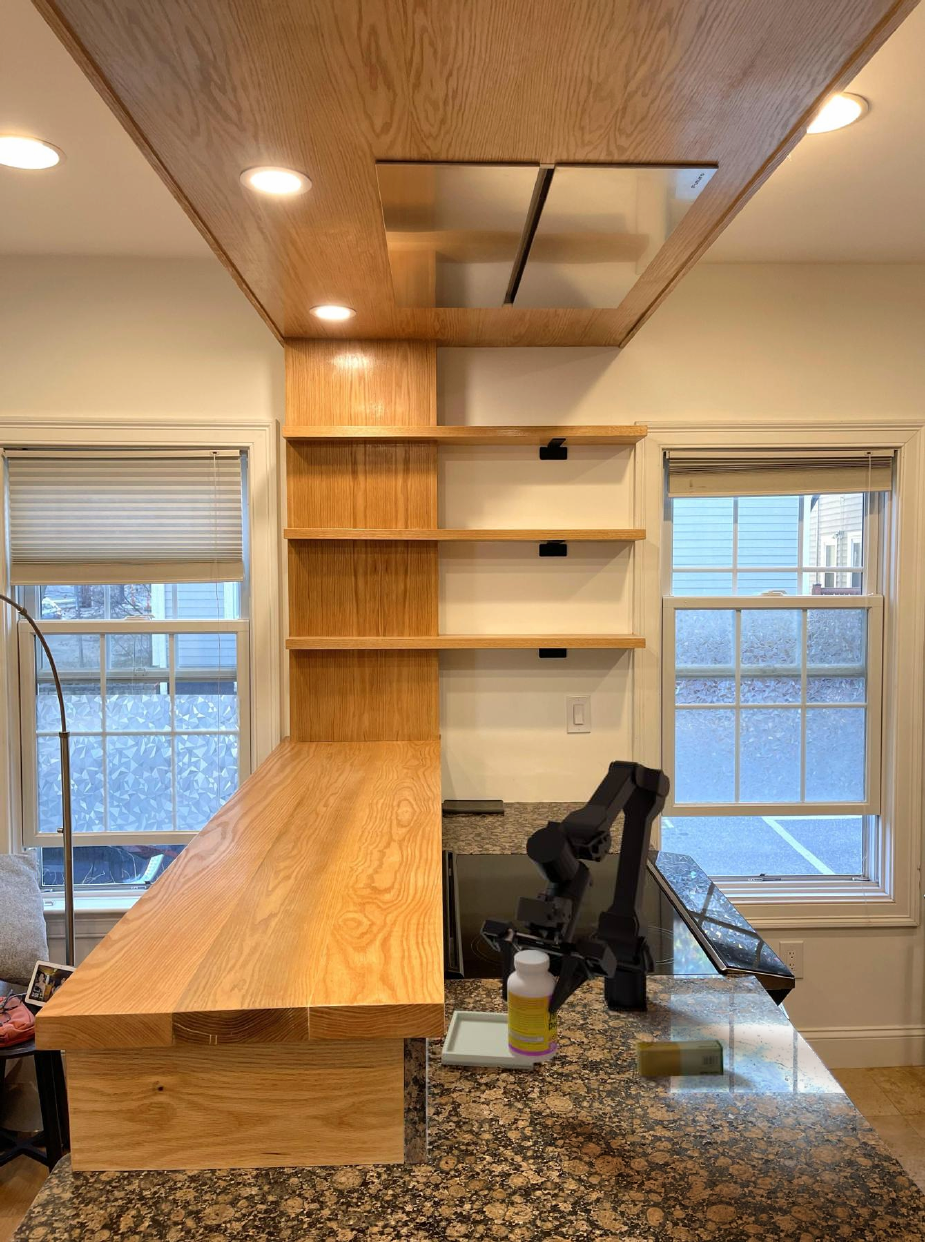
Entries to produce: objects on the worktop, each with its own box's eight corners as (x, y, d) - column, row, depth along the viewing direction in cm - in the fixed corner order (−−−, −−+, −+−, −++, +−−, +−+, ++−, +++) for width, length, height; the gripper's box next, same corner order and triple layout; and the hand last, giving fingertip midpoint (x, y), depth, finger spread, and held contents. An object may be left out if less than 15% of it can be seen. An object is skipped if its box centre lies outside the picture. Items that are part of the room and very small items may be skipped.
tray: (537, 1024, 137) (537, 1014, 137) (532, 1069, 124) (532, 1058, 123) (454, 1020, 138) (454, 1010, 138) (441, 1064, 125) (441, 1053, 125)
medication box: (719, 1066, 124) (718, 1038, 124) (725, 1076, 122) (724, 1047, 122) (635, 1068, 124) (635, 1040, 124) (639, 1078, 121) (639, 1049, 121)
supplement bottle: (555, 1067, 112) (553, 969, 112) (504, 1062, 113) (503, 965, 113) (559, 1041, 119) (558, 948, 118) (512, 1036, 120) (510, 945, 120)
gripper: (485, 860, 124) (443, 964, 115) (607, 881, 114) (571, 998, 105) (513, 898, 131) (476, 999, 122) (630, 921, 121) (599, 1034, 112)
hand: (527, 1006), depth 115 cm, fingers closed on supplement bottle, 7 cm apart
